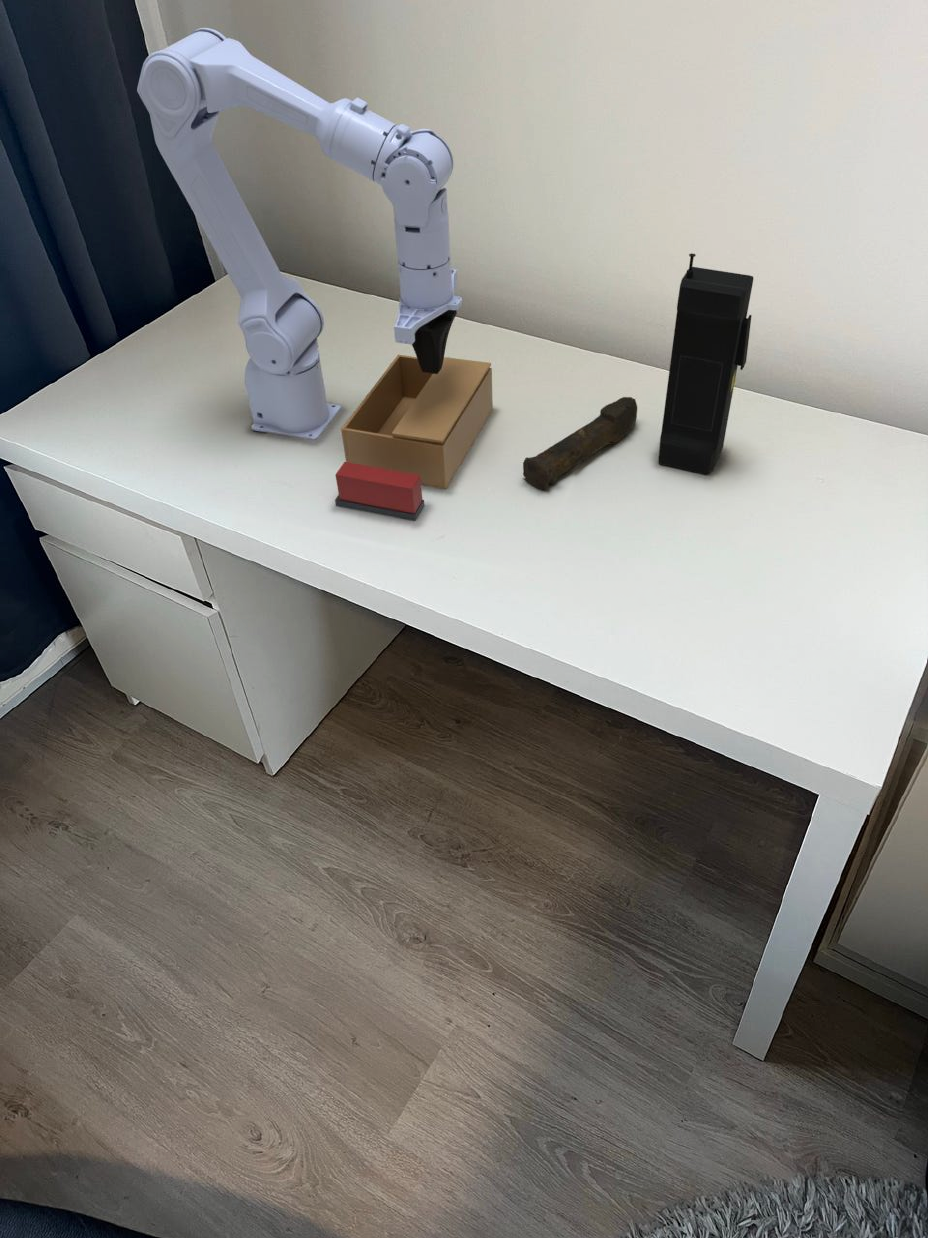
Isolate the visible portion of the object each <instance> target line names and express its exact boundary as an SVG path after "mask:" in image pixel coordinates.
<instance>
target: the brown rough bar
mask: <svg viewBox="0 0 928 1238" xmlns="http://www.w3.org/2000/svg"><path fill="white" fill-rule="evenodd" d="M637 417H638V404H637V401H636V399H635V398H633V397H632V396H623V397H620V398H618V399H617V400H615V401H613V402H611V403H608V404H606V405H605V406H603V407H602V408H601V409H600V412H599V415H598V416H597V417H595V418H594V419H593V420H592V421H589V423H587V424H586V425H583V426H582V427H580V428H579V429H577V430H575V431H574V432H573V433H571V434H569V435H568V436H566V437H565V438H563V439H561V440H560V441H558V442H556V443H554V444H553V445H552V446H550V447H548V448H546V449H545V450H544V451H542V452H539V453H538V454H537V455H535V456H531V457H525V458H524V461H523V463H522V470H523V473H522V475H523V477H524V478H525V481H526V482H527V483H529V484H531V485H532V486H533V487H535V488H537V489H539V490H541V491H544V490H547V488H548V487H549V485H553V484H555V482H556V480H557V479H558V477H560V476H561V475H564V474H565V473H566V472H568V471H569V470H570V469H572V468H573V467H574V466H576V465H578V464H579V463H582V462H584V461H585V459H587V458H588V457H591V456H592V455H593V454H594V453H596V452H598V451H599V450H601V449H602V448H604V447H605V446H607V445H615V444H618V443H619V442H620V441H621V440H622V439H623V438H624V437H625V436H626V435H627V434H628V433H629V432H630V431H631V429H632V427H633V426H634V425H635V424H636V422H637Z"/></svg>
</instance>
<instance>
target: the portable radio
mask: <svg viewBox="0 0 928 1238" xmlns="http://www.w3.org/2000/svg"><path fill="white" fill-rule="evenodd" d="M688 256H689V257H690V258H689V266H688V269H686V272H685V274H684V275H683V276H682V278H681V281H680V283H679V288H678V295H677V296H678V297H677V303H676V316H675V324H674V330H673V331H674V332H673V338H672V347H671V354H670V355H671V357H670V362H669V363H670V364H669V371H668V378H667V387H666V395H665V401H664V410H663V417H662V426H661V433H660V438H659V449H658V450H659V451H658V463H659V464H660V465H662V466H667V467H670V468H674V469H675V468H676V469H680V470H684V471H689V472H693V473H696V474H697V473H698V474H702V475H708V474H709V473H711V472H712V471H714V469H715V468H716V466H717V463H718V461H719V459H720V456H721V454H722V452H723V449H724V444H725V438H726V433H727V427H728V420H729V416H730V410H731V405H732V399H733V394H734V388H735V382H736V377H737V371H738V366H739V367H740V368H739V369H740V371H742V370H743V369H744V367H745V365H746V364H747V360H748V359H747V358H748V349H749V343H750V342H749V341H750V334H751V325H752V324H751V323H752V316H753V315H752V314H749V315H748V312H749V305H750V300H751V295H752V290H753V284H754V276H753V275H750V274H742V273H737V272H729V271H724V270H718V269H717V270H716V269H711V268H704V267H697V266H693V265H694V258H695V257H696V256H697V254H696V253H689V254H688ZM747 316H748V317H747Z"/></svg>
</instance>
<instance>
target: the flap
mask: <svg viewBox="0 0 928 1238" xmlns="http://www.w3.org/2000/svg"><path fill="white" fill-rule="evenodd" d="M491 366H492V362H487V361H481V360H479V361H478V360H472V359H463V358H455V357H446V356H444V360H443V365H442V368H441V370H440V371H439V373H438V374H432V376H431V377H430V379H429V380H428V382H427V383H426V385H425V386H424V387H423V389H422V390H421V392H420V393H419V395H418V396H417V397H416V399H415V400H414V402H413V403H412V405H411V406H410V408H409V409H408V410H407V412H406V413H405V415H404V416H403V418H402V419H401V420H400V422H399V423H398V425H397V426H396V428H395V429H394V431H393V432H392V436H398V437H405V438H411V439H418V440H425V441H432V442H438V443H443V441H444V440H445V438H446V437H447V435H448V433H449V432H450V430H451V429H452V427H453V425H454V424H455V422H456V421H457V419H458V417H459V416H460V414H461V413H462V411H463V409H464V408H465V406H466V405H467V403H468V401H469V400H470V398H471V397H472V395H473V393H474V392H475V390H476V389H477V387H478V385H479V384H480V382H481V380H482V379H483V377H484V376H485V374H486V372H487V371H488V369H489V368H491Z"/></svg>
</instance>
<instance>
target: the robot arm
mask: <svg viewBox="0 0 928 1238" xmlns="http://www.w3.org/2000/svg"><path fill="white" fill-rule="evenodd" d="M136 92H137V93H138V95H139V97H140V99H141V101H142V103H143V105H144V107H145V108H146V110H147V112H148V113H149V117H150V123H151V128H152V132H153V138H154V142H155V145H156V147H157V149H158V151H159V154H160V155H161V157H162V158H163V160H164V162H165V164H166V166H167V167H168V169H169V171H170V173H171V175H172V176H173V179H174V180H175V182H176V183H177V185H178V187H179V189H180V191H181V193H182V195H183V196H184V198H185V199H186V202H187V203H188V205H189V207H190V208H191V210H192V212H193V214H194V216H195V218H196V219H197V221H198V223H199V224H200V227H201V228H202V230H203V232H204V233H205V236H206V237H207V239H208V241H209V242H210V244H211V246H212V248H213V250H214V251H215V253H216V255H217V257H218V258H219V261H220V262H221V264H222V265H223V268H224V269H225V271H226V273H227V275H228V276H229V278H230V280H231V282H232V284H233V286H234V288H235V289H236V291H237V293H238V294H239V296H240V304H239V308H238V317H237V318H238V319H237V324H238V326H239V328H240V330H241V331H242V333H243V336H244V341H245V348H246V352H247V354H248V356H249V359H248V361H247V363H246V365H245V369H244V386H245V392H246V396H247V399H248V404H249V408H250V414H251V417H252V420H253V421H252V422H253V423H252V424H251V426H250V428H251V430H252V431H257V432H261V433H272V434H277V435H283V436H289V437H294V438H299V439H306V440H311V441H316V440H318V439H319V438H320V436H321V435H322V433H323V432H324V431H325V430H326V429H327V427H328V426H329V425H330V424H331V422H332V421H333V419H335V417H336V416H337V415H338V413H339V412H340V411H341V410H342V406H341V405H338V404H334V403H329V402H328V400H327V394H326V387H325V382H324V376H323V369H322V364H321V357H320V352H319V351H320V350H319V342H318V337H320V336H321V334H322V333H323V330H324V327H325V320H324V315H323V312H322V311H321V309H320V306H319V305H318V304H317V302H315V301H314V300H313V299H312V298H311V297H310V296H308V295H307V293H306V292H305V290H304V289H303V287H302V286H301V284H300V281H298V280H297V279H294V278H292V277H289V276H286V275H284V274H282V272H281V271H280V269H279V267H278V265H277V263H276V261H275V259H274V257H273V255H272V253H271V252H270V250H269V248H268V246H267V243H266V242H265V240H264V238H263V237H262V234H261V233H260V231H259V229H258V227H257V225H256V223H255V221H254V219H253V217H252V215H251V213H250V211H249V210H248V208H247V206H246V204H245V202H244V200H243V198H242V196H241V195H240V192H239V191H238V189H237V187H236V185H235V183H234V182H233V179H232V177H231V175H230V174H229V172H228V170H227V168H226V166H225V164H224V162H223V160H222V158H221V156H220V154H219V153H218V151H217V149H216V147H215V145H214V144H213V136H214V131H215V128H216V125H217V121H218V117H219V114H220V111H225V110H228V109H232V108H236V107H241V106H246V107H248V108H251V109H253V110H256V111H258V112H260V113H261V114H264V115H266V116H268V117H271V118H273V119H274V120H275V119H276V120H278V121H280V122H282V123H284V124H286V125H289V126H290V127H293V128H296V129H297V130H300V131H302V132H303V133H306V134H308V135H310V136H313V137H315V138H316V140H317V141H318V144H319V146H320V149H321V150H322V153H323V155H324V156H325V157H327V158H329V159H331V160H332V161H334V162H337V163H338V164H340V165H342V166H343V167H346V168H348V169H350V170H351V171H353V172H356V173H357V174H359V175H360V176H363V177H365V178H366V179H368V180H371V181H372V182H374V183H376V184H379V186H381V189H382V191H383V193H384V195H385V196H386V198H387V199H388V200H389V202H390V204H391V205H392V207H393V216H394V217H393V221H394V232H395V243H396V255H397V256H396V257H397V266H398V279H399V288H400V289H399V290H400V296H399V299H398V311H397V313H398V314H397V319H396V322H395V324H394V325H393V331H394V342H395V343H398V344H404V345H406V344H407V345H410V346H412V348H413V351H414V353H415V357H417V359H418V362H419V365H420V367H421V370H422V372H426V373H433V374H438V373H439V371H440V370H441V368H442V365H443V360H444V357H445V353H446V346H447V343H448V339H449V334H450V330H451V328H452V325H453V322H454V320H455V318H456V316H457V314H458V310H459V309H460V308H461V306H462V305H463V297H462V296H459V295H455V289H456V288H457V286H458V269H453V268H452V266H451V265H452V263H451V242H450V223H449V222H450V221H449V211H448V210H449V209H448V191H447V188H446V187H444V186H445V185H446V184H447V183H448V181H449V180H450V178H451V176H452V174H453V170H454V157H453V153H452V150H451V148H450V146H449V144H448V143H447V142H446V141H445V139H444V138H442V137H441V136H440V135H438V134H437V133H436V132H435V131H434V130H433V129H428V128H419V129H415V130H413V131H412V130H411V127H409V126H407V125H406V124H404V123H401V124H400V125H397V123H395V122H392V121H390V120H389V119H387V118H385V117H383V116H381V115H379V114H378V113H375V112H374V111H372V110H370V109H368V102H367V101H365V100H363V99H361V98H359V97H356V98H354V99H353V100H351V99H349V98H347V97H346V98H345V97H344V98H341V99H339V100H336V101H335V102H331V103H330V102H329V101H327V100H325V99H323V98H322V97H321V96H318V95H317V94H315V93H313V92H312V91H310V90H309V89H307V88H306V87H304V86H302V85H301V84H299V83H297V82H296V81H294V80H292V79H291V78H289V77H288V76H286V75H284V74H283V73H281V72H279V71H278V70H276V69H274V68H273V67H271V66H270V65H268V64H266V63H264V62H263V61H261V60H260V59H258V58H257V57H255V56H253V55H252V54H251V53H249V51H248V50H247V49H246V48H245V46H244V45H243V44H242V43H241V42H240V41H239V40H236V39H233V38H230V37H226V36H225V35H224V34H222V33H221V32H219V31H218V30H215V29H213V28H209V27H201V28H197V29H195V30H193V31H192V32H191V33H190V34H189V35H188V36H186V37H184V38H182V39H180V40H178V41H176V42H175V43H173V44H171V45H169V46H167V47H165V48H163V49H161V50H157V51H154V52H152V53H150V54H149V55H148V56H147V57H146V58H145V60H144V61H143V64H142V67H141V71H140V75H139V80H138V83H137V89H136Z"/></svg>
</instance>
